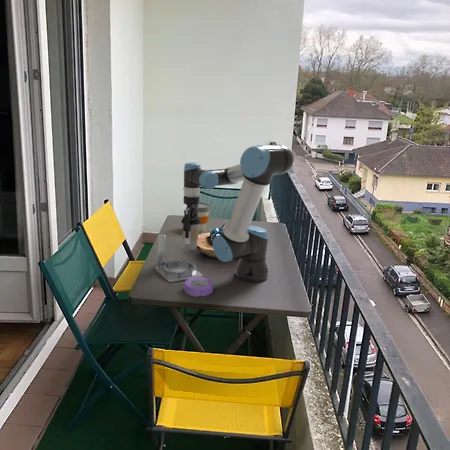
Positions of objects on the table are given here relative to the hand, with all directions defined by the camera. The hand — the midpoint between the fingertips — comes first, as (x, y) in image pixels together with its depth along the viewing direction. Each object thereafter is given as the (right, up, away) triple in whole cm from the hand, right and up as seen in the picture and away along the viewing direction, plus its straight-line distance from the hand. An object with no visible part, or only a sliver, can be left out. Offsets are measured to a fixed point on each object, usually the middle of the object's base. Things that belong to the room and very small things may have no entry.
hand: (190, 241), depth 223 cm
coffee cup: (0, -3, +1) cm, 4 cm away
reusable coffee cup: (+1, +5, +50) cm, 50 cm away
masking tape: (+6, -20, -30) cm, 37 cm away
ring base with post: (-4, -14, -14) cm, 20 cm away
